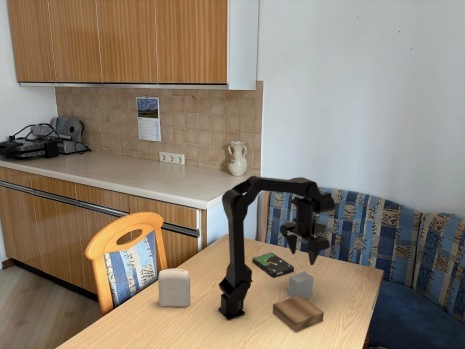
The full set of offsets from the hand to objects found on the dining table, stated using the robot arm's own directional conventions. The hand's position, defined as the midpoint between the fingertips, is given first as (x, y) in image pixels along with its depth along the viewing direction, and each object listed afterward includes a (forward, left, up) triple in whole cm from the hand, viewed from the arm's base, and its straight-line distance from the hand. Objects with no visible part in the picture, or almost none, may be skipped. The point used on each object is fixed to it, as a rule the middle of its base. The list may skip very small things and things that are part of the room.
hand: (302, 259), depth 121 cm
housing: (0, 0, -14) cm, 14 cm away
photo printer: (-40, +16, -14) cm, 45 cm away
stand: (-9, -9, -14) cm, 19 cm away
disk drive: (+4, +21, -14) cm, 26 cm away
